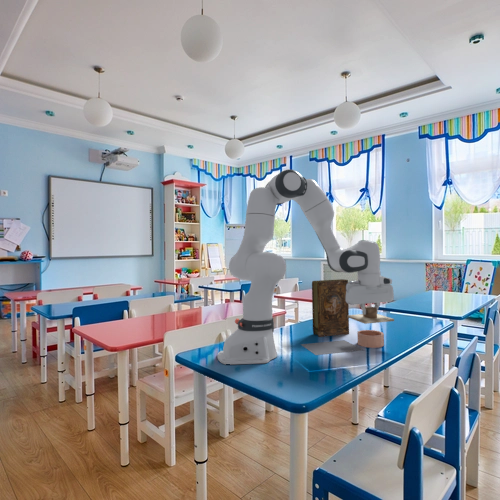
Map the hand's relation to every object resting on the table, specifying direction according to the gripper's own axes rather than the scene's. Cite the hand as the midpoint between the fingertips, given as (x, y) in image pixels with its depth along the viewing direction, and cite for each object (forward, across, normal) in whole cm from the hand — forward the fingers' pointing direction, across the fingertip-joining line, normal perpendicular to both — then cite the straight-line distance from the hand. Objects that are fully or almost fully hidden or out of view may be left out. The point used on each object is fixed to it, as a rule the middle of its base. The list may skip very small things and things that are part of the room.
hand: (370, 314), depth 141 cm
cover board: (+2, 0, 0) cm, 2 cm away
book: (+13, -7, +20) cm, 25 cm away
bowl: (+13, 0, 0) cm, 13 cm away
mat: (+12, -17, +1) cm, 21 cm away
